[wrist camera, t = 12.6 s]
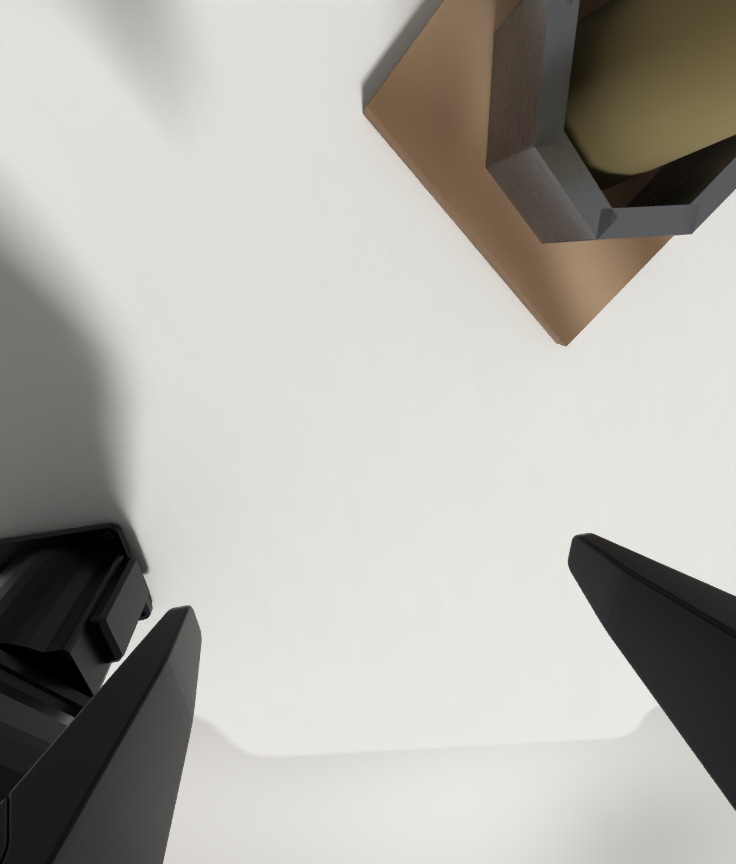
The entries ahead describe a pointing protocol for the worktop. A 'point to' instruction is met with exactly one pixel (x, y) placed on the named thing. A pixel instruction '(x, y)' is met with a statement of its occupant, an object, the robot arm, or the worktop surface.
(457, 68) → the walnut plate
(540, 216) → the metal collar
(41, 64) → the worktop surface
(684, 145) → the cork
